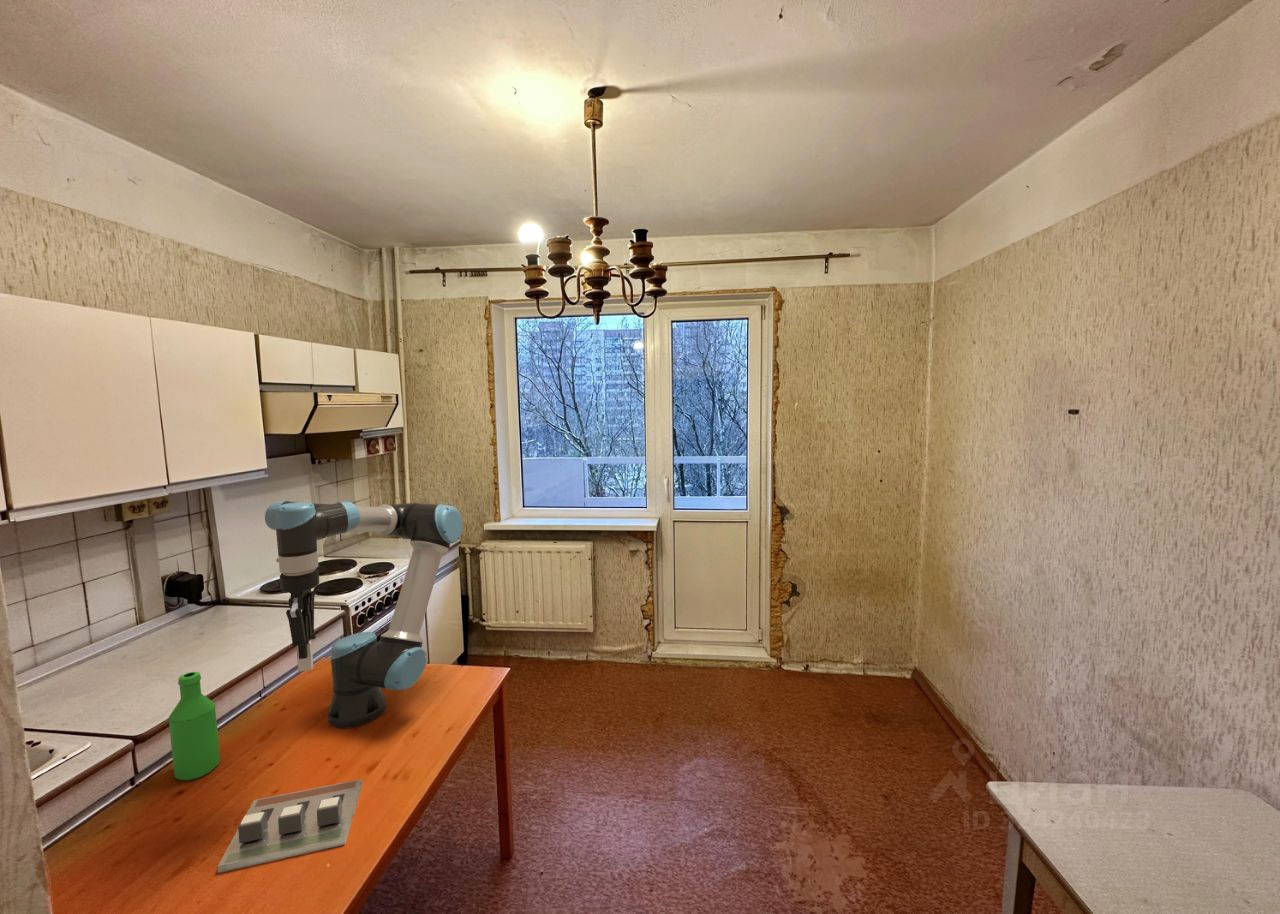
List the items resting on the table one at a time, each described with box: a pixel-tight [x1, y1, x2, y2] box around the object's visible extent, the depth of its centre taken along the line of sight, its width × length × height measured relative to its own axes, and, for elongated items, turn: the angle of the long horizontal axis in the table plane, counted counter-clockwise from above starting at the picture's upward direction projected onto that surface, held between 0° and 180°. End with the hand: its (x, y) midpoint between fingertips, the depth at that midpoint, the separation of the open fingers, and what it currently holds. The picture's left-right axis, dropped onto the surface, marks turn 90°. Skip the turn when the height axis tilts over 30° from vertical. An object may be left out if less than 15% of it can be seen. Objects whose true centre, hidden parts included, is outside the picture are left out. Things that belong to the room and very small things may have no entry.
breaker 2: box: [278, 804, 306, 835], centre depth 111 cm, size 3×4×4 cm
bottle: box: [168, 671, 221, 781], centre depth 130 cm, size 9×9×25 cm
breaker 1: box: [237, 812, 268, 843], centre depth 109 cm, size 3×4×4 cm
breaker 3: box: [317, 797, 342, 826], centre depth 113 cm, size 3×4×4 cm
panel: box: [217, 778, 363, 874], centre depth 114 cm, size 18×22×2 cm
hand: (305, 669), depth 122 cm, fingers closed
